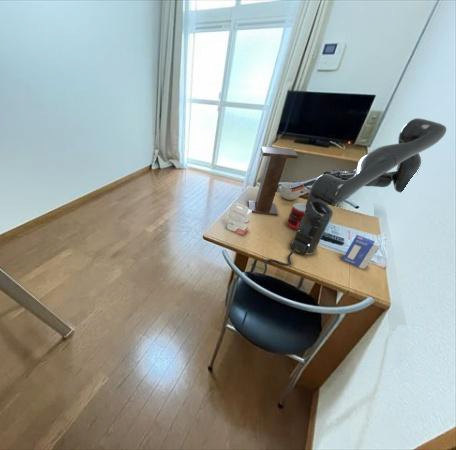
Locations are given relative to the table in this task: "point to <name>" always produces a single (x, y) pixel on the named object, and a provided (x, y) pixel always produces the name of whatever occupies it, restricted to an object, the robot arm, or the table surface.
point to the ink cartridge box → (239, 218)
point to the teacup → (290, 192)
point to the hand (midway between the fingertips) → (324, 174)
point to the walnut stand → (270, 179)
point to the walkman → (361, 251)
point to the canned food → (296, 215)
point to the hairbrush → (307, 182)
